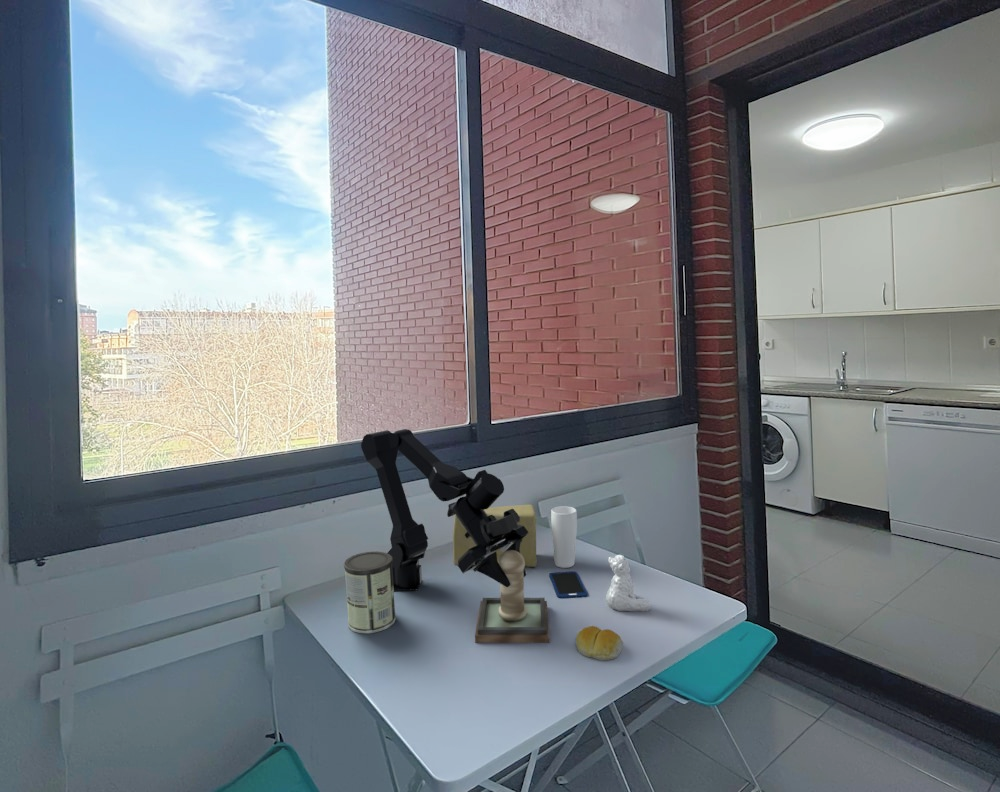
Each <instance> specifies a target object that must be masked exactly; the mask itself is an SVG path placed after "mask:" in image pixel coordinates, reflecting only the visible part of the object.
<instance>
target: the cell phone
mask: <svg viewBox="0 0 1000 792" xmlns="http://www.w3.org/2000/svg"><path fill="white" fill-rule="evenodd" d="M548 576H549V579H550V581H551V584H552V587H553V589H554V592H555V595H556V597H557V598H558V599H573V598H574V599H575V598H586V597H589V593H588V591H587V589H586V588H585V586H584V583H583V581H582V579H581V577H580V576H579V574H578V571H575V570H572V571H571V570H570V571H555V572H549V573H548Z"/></svg>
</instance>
